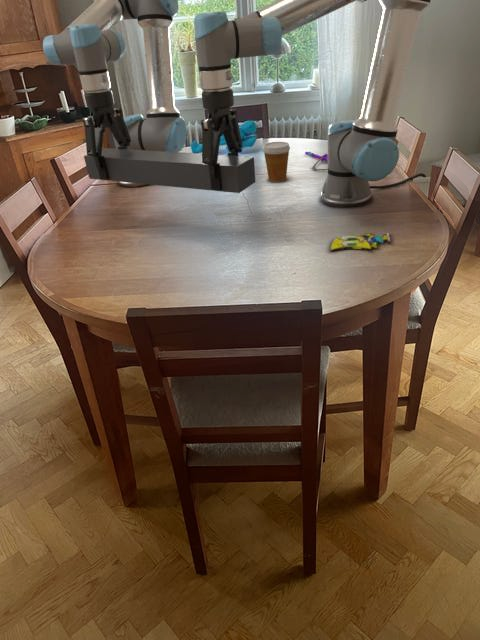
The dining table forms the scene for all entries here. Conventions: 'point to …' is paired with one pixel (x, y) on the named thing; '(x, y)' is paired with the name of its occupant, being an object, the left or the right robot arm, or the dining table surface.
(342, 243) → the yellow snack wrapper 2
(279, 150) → the disposable coffee cup
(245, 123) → the toy
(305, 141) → the dining table surface
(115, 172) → the thick board
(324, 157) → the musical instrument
